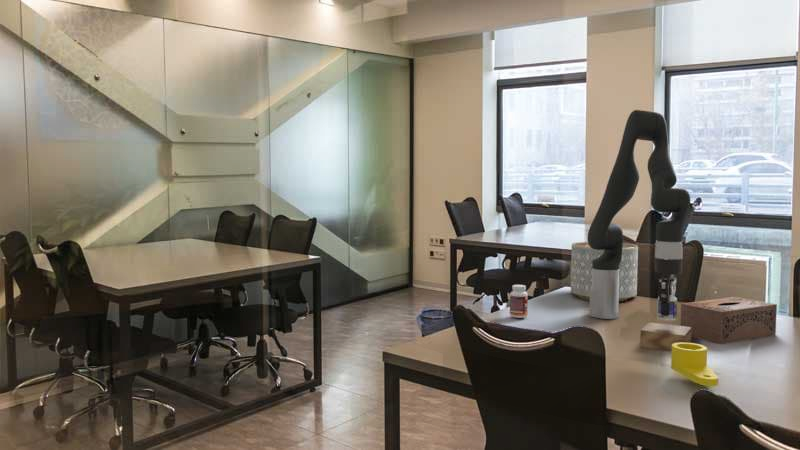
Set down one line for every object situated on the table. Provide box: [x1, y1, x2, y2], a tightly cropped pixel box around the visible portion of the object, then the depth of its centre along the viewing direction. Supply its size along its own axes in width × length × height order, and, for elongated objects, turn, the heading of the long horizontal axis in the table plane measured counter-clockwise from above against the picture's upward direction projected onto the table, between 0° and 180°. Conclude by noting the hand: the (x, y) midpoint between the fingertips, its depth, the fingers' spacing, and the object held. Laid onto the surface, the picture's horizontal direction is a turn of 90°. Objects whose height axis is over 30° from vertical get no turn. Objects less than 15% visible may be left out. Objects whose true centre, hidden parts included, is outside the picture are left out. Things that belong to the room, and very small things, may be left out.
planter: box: [570, 241, 639, 302], centre depth 265 cm, size 26×26×22 cm
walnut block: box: [639, 322, 692, 352], centre depth 194 cm, size 12×12×5 cm
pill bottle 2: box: [656, 289, 678, 322], centre depth 193 cm, size 5×5×9 cm
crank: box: [670, 342, 719, 387], centre depth 166 cm, size 18×8×6 cm, turn 177°
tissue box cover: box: [679, 296, 778, 345], centre depth 207 cm, size 26×14×10 cm, turn 117°
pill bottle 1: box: [509, 284, 529, 319], centre depth 234 cm, size 6×6×11 cm
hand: (666, 313), depth 193 cm, fingers closed on pill bottle 2, 5 cm apart
